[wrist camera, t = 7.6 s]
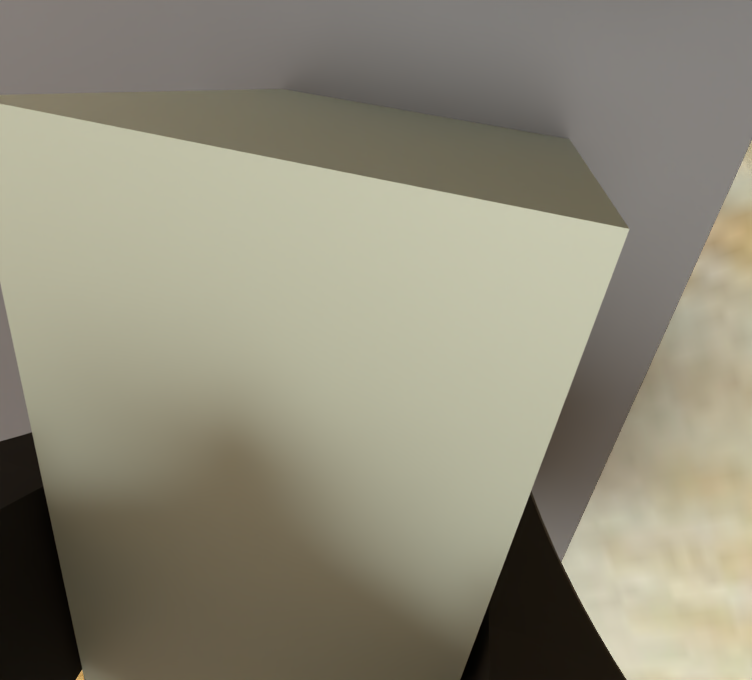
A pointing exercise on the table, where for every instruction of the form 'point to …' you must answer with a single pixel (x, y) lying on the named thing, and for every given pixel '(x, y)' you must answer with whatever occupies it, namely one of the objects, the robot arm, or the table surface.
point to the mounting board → (473, 104)
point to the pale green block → (289, 369)
